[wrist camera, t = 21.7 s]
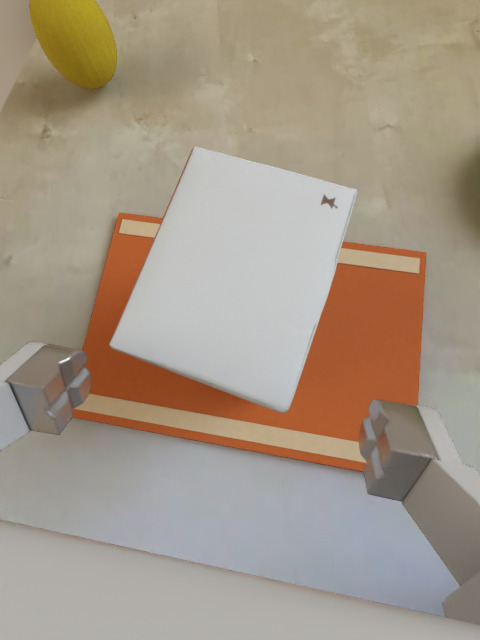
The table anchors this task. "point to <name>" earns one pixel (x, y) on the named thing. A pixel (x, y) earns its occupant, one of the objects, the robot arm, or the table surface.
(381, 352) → the towel
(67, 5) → the lemon
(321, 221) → the small box
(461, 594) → the robot arm
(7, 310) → the table surface
